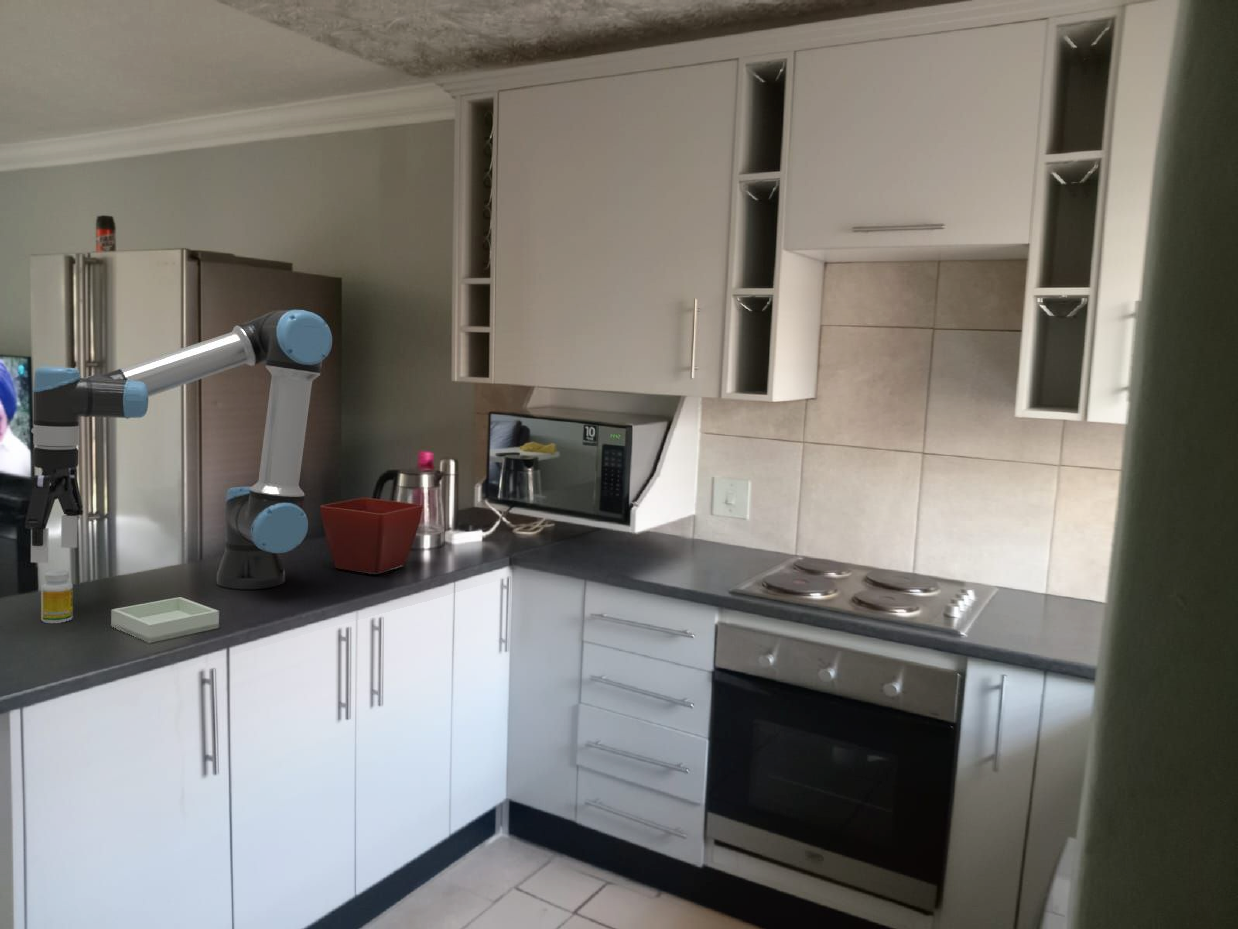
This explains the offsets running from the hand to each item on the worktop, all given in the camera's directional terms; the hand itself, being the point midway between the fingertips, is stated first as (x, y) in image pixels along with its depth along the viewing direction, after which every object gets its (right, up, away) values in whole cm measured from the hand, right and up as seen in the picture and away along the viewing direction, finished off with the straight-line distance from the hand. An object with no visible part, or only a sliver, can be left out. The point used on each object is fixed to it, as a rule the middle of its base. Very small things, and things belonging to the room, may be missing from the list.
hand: (54, 554), depth 180 cm
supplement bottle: (-1, -13, +2) cm, 13 cm away
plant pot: (+46, -10, +60) cm, 76 cm away
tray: (+21, -15, +1) cm, 26 cm away
